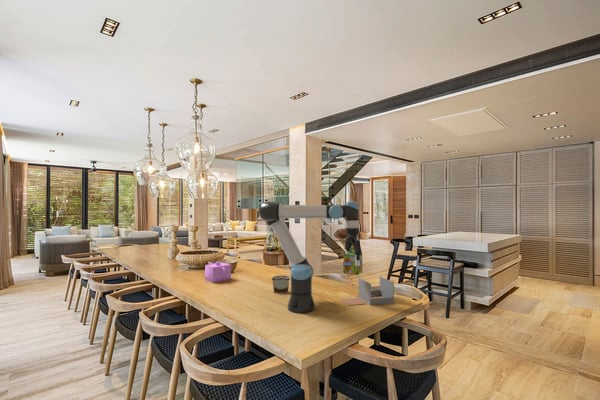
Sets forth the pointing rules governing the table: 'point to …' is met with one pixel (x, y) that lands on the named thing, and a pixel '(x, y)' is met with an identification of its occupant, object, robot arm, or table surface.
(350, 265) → the green juice carton
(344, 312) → the table surface
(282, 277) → the food container
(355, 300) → the mat
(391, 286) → the grey open holder
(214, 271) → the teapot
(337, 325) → the table surface
